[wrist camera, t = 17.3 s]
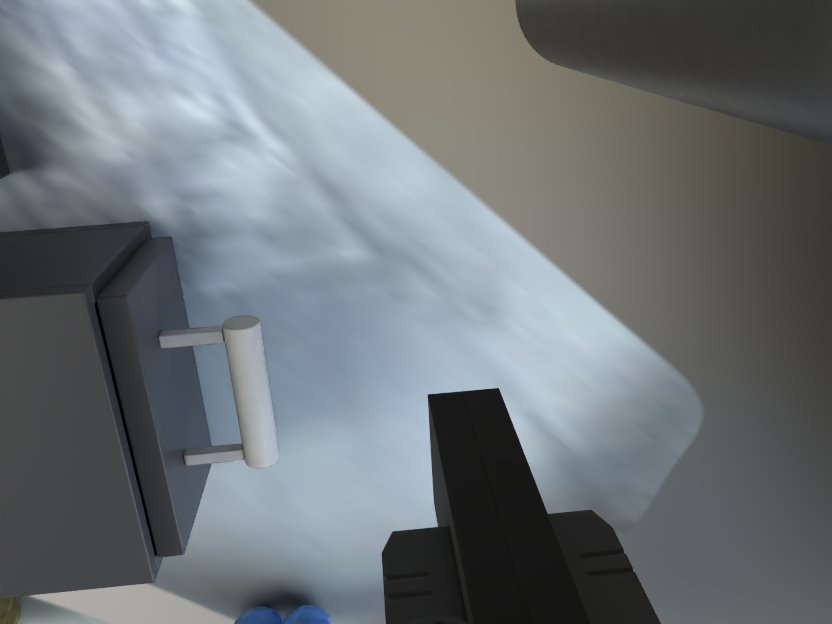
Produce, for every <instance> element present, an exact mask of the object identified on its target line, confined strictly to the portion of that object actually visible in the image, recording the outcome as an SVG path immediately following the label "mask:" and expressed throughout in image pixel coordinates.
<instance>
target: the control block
mask: <svg viewBox="0 0 832 624" xmlns="http://www.w3.org/2000/svg"><path fill="white" fill-rule="evenodd" d="M7 175H9V170H8V166H7V162H6V159H5V155H4V151H3V147H2V144H1V140H0V179H1V178H3V177H5V176H7Z"/></svg>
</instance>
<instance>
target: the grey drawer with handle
mask: <svg viewBox="0 0 832 624" xmlns="http://www.w3.org/2000/svg"><path fill="white" fill-rule="evenodd" d="M94 306H95V310H96V314H97V318H98V322H99V326H100V331H101V335H102V339H103V343H104V347H105V351H106V355H107V360H108V364H109V368H110V372H111V376H112V380H113V385H114V389H115V393H116V397H117V401H118V405H119V409H120V414H121V418H122V422H123V426H124V430H125V434H126V438H127V443H128V447H129V451H130V455H131V459H132V463H133V468H134V472H135V476H136V480H137V484H138V488H139V492H140V497H141V501H142V502H143V499H144V502H145V507H146V511H147V515H148V519H149V523H150V528H151V532H152V536H153V540H154V544H155V548H156V553H157V557H167V556H177V555H184V553H185V550H186V547H187V543H188V540H189V537H190V533H191V530H192V527H193V523H194V520H195V517H196V514H197V510H198V507H199V504H200V500H201V497H202V494H203V490H204V487H205V484H206V480H207V477H208V474H209V470H210V467H211V464H212V463H220V462H231V461H241V460H244V457H245V462H246V464H247V465H248V466H249V467H251V468H256V469H261V468H266V467H269V466H272V465H274V464H275V463H276V462H277V461H278V460H279V458H280V452H279V446H278V439H277V432H276V426H275V419H274V412H273V406H272V399H271V392H270V386H269V379H268V372H267V366H266V359H265V352H264V346H263V339H262V332H261V326H260V320H259V318H257V317H255V316H248V315H246V316H237V317H233V318H230V319H228V320H226V321H225V322H224V323H223V325H222V326H216V327H204V328H192V329H189V325H188V320H187V315H186V310H185V304H184V299H183V294H182V289H181V283H180V278H179V273H178V268H177V262H176V257H175V252H174V247H173V241H172V238H171V237H163V238H150V239H146V240H145V242H144V243H143V244H142V245H141V246H140V247H139V249H138V250H137V251H136V252H135V253H134V254H133V256H132V257H131V258H130V259H129V260H128V261H127V262H126V264H125V265H124V266H123V267H122V268H121V269H120V271H119V272H118V273H117V274H116V275H115V276H114V278H113V279H112V280H111V281H110V282H109V283H108V284H107V286H106V287H105V288H104V289H103V290H102V291H101V293H100V294H99V295H98V296H97V297H96V302H95V303H94ZM224 340H225V346H226V352H227V357H228V363H229V369H230V375H231V381H232V387H233V392H234V398H235V404H236V410H237V416H238V422H239V427H240V433H241V439H242V444H232V445H221V446H211V441H210V435H209V430H208V425H207V420H206V414H205V409H204V404H203V399H202V393H201V388H200V383H199V378H198V373H197V367H196V362H195V357H194V352H193V346H194V345H206V344H218V343H224Z"/></svg>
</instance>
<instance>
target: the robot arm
mask: <svg viewBox="0 0 832 624" xmlns="http://www.w3.org/2000/svg"><path fill="white" fill-rule="evenodd" d="M428 407H429V424H430V441H431V458H432V476H433V493H434V505H435V511H436V517H437V523H438V527H434V528H424V529H414V530H404V531H394V532H392V534H391V536H390V538H389V540H388V542H387V544H386V546H385V548H384V550H383V552H382V565H383V580H384V581H383V582H384V598H385V616H386V624H661V623H660V621H659V619H658V617H657V615H656V613H655V611H654V609H653V608H652V605H651V603H650V601H649V599H648V597H647V595H646V593H645V591H644V589H643V587H642V586H641V583H640V582H639V579H638V577H637V575H636V574H635V572H633V568H632V565H631V564H630V562H629V559H628V557H627V555H626V554H624V550H623V548H622V546H621V544H620V542H619V540H618V538H617V536H616V534H615V532H614V530H613V528H612V527H611V526H610V525H609V524H608V523H606V522H605V521H604V520H603V519H602V518H601V517H599V516H598V515H597V514H596V513H595V512H593V511H592V510H584V511H574V512H564V513H554V514H547V511H546V509H545V506H544V503H543V501H542V498H541V496H540V493H539V491H538V488H537V485H536V483H535V480H534V478H533V475H532V473H531V470H530V467H529V465H528V462H527V460H526V457H525V455H524V452H523V449H522V447H521V444H520V442H519V439H518V436H517V434H516V431H515V429H514V426H513V424H512V421H511V418H510V416H509V413H508V411H507V408H506V406H505V403H504V400H503V398H502V395H501V393H500V390H499V388H495V389H484V390H473V391H462V392H451V393H440V394H429V395H428Z"/></svg>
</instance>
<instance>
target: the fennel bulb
mask: <svg viewBox="0 0 832 624" xmlns="http://www.w3.org/2000/svg"><path fill="white" fill-rule="evenodd" d="M20 607H21V604H20V601H19V597H8V598H0V624H17V623H18V619H19V615H20Z"/></svg>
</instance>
